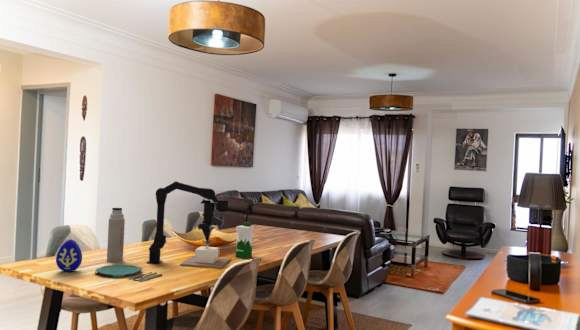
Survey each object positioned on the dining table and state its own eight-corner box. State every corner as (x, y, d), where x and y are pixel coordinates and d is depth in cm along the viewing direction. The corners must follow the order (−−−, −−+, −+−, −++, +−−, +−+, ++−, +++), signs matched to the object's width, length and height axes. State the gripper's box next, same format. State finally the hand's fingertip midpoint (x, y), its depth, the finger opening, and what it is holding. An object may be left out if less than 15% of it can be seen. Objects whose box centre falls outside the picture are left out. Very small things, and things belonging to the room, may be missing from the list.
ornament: (53, 273, 215) (55, 241, 215) (58, 269, 224) (59, 237, 224) (79, 273, 218) (81, 241, 218) (83, 268, 227) (84, 237, 227)
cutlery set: (119, 266, 236) (119, 262, 236) (165, 276, 223) (166, 271, 222) (86, 274, 218) (87, 269, 218) (135, 285, 205) (135, 280, 205)
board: (221, 268, 241) (221, 266, 241) (180, 265, 244) (180, 263, 244) (230, 260, 263) (230, 258, 263) (192, 257, 266) (192, 255, 266)
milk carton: (253, 256, 276) (255, 222, 276) (245, 259, 268) (247, 224, 268) (241, 254, 280) (243, 221, 280) (232, 257, 272) (234, 222, 272)
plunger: (209, 255, 251) (210, 241, 251) (201, 254, 251) (202, 241, 251) (212, 253, 256) (212, 240, 256) (203, 253, 256) (204, 239, 256)
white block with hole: (213, 263, 248) (213, 250, 248) (194, 262, 249) (195, 249, 249) (217, 259, 258) (218, 247, 258) (200, 258, 259) (200, 246, 259)
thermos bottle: (125, 259, 251) (128, 207, 251) (117, 262, 243) (119, 209, 243) (112, 258, 253) (114, 206, 253) (103, 261, 245) (106, 208, 245)
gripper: (219, 214, 243) (217, 244, 243) (227, 211, 262) (226, 238, 262) (198, 213, 244) (196, 243, 244) (207, 209, 263) (206, 237, 263)
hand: (207, 240), depth 253 cm, fingers closed, pressing on plunger
